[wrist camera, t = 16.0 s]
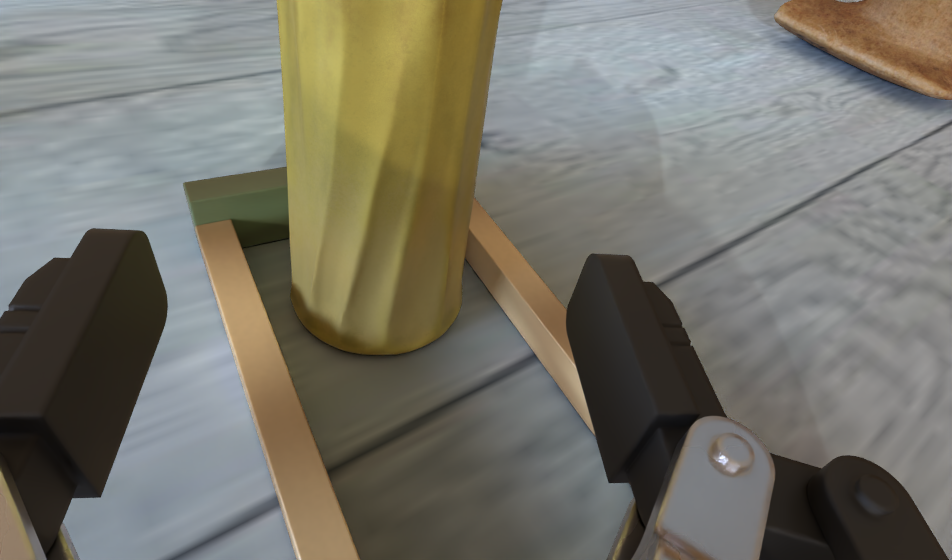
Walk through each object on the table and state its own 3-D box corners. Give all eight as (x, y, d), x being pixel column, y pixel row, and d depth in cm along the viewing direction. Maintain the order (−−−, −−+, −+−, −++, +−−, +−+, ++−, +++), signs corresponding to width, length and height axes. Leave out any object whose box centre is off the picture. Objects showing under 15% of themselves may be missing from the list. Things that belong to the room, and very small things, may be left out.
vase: (272, 256, 21) (201, -274, 11) (421, 225, 24) (472, -224, 14) (321, 382, 17) (282, -231, 7) (490, 329, 20) (626, -175, 10)
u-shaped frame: (777, 622, 14) (835, 592, 13) (410, 926, 10) (422, 943, 8) (441, 189, 26) (448, 141, 24) (195, 236, 21) (182, 181, 19)
